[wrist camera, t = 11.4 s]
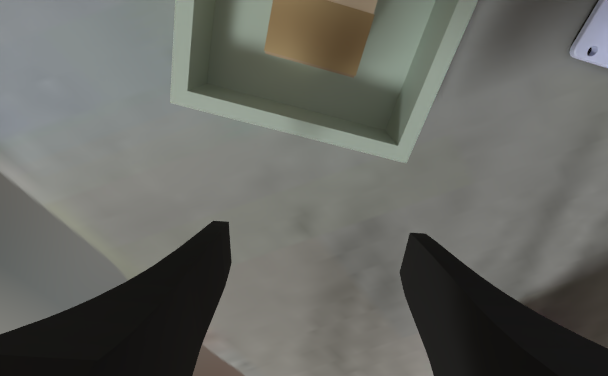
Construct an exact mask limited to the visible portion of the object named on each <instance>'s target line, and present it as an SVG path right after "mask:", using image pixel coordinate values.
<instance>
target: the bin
mask: <svg viewBox="0 0 608 376" xmlns="http://www.w3.org/2000/svg"><path fill="white" fill-rule="evenodd" d="M477 2H478V0H378V1H377V5H376V8H375V11H374V15H375V16H374V19H373V22H372V25H371V29H370V32H369V35H368V38H367V41H366V45H365V48H364V51H363V54H362V57H361V61H360V64H359V67H358V70H357V73H356V76H354V78H352V77H349V76H345V75H341V74H338V73H334V72H331V71H327V70H323V69H320V68H316V67H313V66H309V65H305V64H302V63H298V62H294V61H291V60H287V59H284V58H280V57H276V56H273V55H269V54H266V53H265V51H264V48H265V42H266V37H267V31H268V25H269V20H270V14H271V8H272V3H273V0H175V16H174V35H173V55H172V75H171V95H170V103H172V104H176V105H180V106H184V107H188V108H192V109H196V110H200V111H204V112H208V113H211V114H215V115H219V116H223V117H227V118H231V119H235V120H239V121H243V122H247V123H251V124H254V125H258V126H262V127H266V128H270V129H274V130H278V131H282V132H286V133H290V134H293V135H297V136H301V137H305V138H309V139H313V140H317V141H321V142H325V143H329V144H333V145H336V146H340V147H344V148H348V149H352V150H356V151H360V152H364V153H368V154H372V155H376V156H379V157H383V158H387V159H391V160H395V161H399V162H403V163H407V161H408V158H409V156H410V154H411V152H412V149H413V147H414V145H415V142H416V140H417V138H418V136H419V133H420V131H421V129H422V127H423V124H424V122H425V120H426V118H427V115H428V113H429V111H430V109H431V106H432V104H433V102H434V99H435V97H436V95H437V93H438V90H439V88H440V86H441V84H442V81H443V79H444V77H445V75H446V72H447V70H448V68H449V66H450V63H451V61H452V59H453V56H454V54H455V52H456V50H457V47H458V45H459V43H460V41H461V38H462V36H463V34H464V32H465V29H466V27H467V25H468V23H469V20H470V18H471V16H472V13H473V11H474V9H475V7H476V4H477Z"/></svg>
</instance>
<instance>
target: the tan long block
mask: <svg viewBox="0 0 608 376" xmlns="http://www.w3.org/2000/svg"><path fill="white" fill-rule="evenodd" d="M377 1H378V0H273V3H272V8H271V14H270V20H269V25H268V31H267V37H266V42H265V48H264V51H265V53H266V54H269V55H273V56H276V57H280V58H284V59H287V60H291V61H294V62H298V63H302V64H305V65H309V66H313V67H316V68H320V69H323V70H327V71H331V72H334V73H338V74H341V75H345V76H349V77H352V78H354V76H356V73H357V70H358V67H359V64H360V61H361V57H362V54H363V51H364V48H365V45H366V41H367V38H368V35H369V32H370V29H371V25H372V22H373V19H374V16H375V15H374V11H375V8H376V5H377Z"/></svg>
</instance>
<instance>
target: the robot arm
mask: <svg viewBox="0 0 608 376" xmlns="http://www.w3.org/2000/svg"><path fill="white" fill-rule="evenodd" d="M590 47H591V48H592V50H591V53H590V54H589V55H587V52H588V50H589V48H590ZM570 55H571V57H573V58H575V59H579V60H582V61H585V62H588V63H592V64H595V65H598V66H601V67H605V68H608V0H599V1H598V3H597V4H596V6H595V8H594V9H593V11H592V13H591V14H590V16H589V18H588V19H587V21H586V23H585V24H584V26H583V28H582V29H581V31H580V33H579V34H578V36H577V38H576V39H575V41H574V43H573V44H572V46H571V48H570ZM230 266H231V249H230V235H229V222H222V221H213V222H211V223H210V224H209V225H207V226H206V227H205V228H204V229H202V230H201V231H200V232H199V233H197V234H196V235H195V236H194V237H192V238H191V239H190V240H188V241H187V242H186V243H185V244H183V245H182V246H181V247H179V248H178V249H177V250H175V251H174V252H172V253H171V254H170V255H168V256H167V257H165V258H164V259H162V260H161V261H159V262H158V263H157V264H155V265H154V266H152V267H150V268H149V269H147V270H146V271H144V272H142V273H141V274H139V275H137V276H135V277H134V278H132V279H130V280H128V281H127V282H125V283H123V284H121V285H119V286H117V287H115V288H113V289H111V290H109V291H107V292H105V293H103V294H101V295H99V296H97V297H95V298H93V299H91V300H89V301H86V302H84V303H82V304H79V305H77V306H75V307H73V308H70V309H68V310H65V311H63V312H61V313H58V314H56V315H53V316H51V317H48V318H46V319H43V320H40V321H37V322H34V323H32V324H29V325H26V326H23V327H20V328H18V329H15V330H12V331H9V332H6V333H3V334H0V376H192V375H193V371H194V368H195V365H196V361H197V357H198V355H199V351H200V348H201V345H202V343H203V340H204V337H205V335H206V332H207V330H208V327H209V325H210V322H211V320H212V318H213V315H214V313H215V310H216V308H217V305H218V303H219V300H220V298H221V295H222V293H223V290H224V288H225V285H226V281H227V278H228V274H229V270H230ZM400 276H401V281H402V285H403V289H404V293H405V297H406V300H407V302H408V305H409V308H410V310H411V313H412V316H413V318H414V321H415V323H416V326H417V329H418V331H419V334H420V336H421V339H422V341H423V344H424V347H425V349H426V352H427V355H428V358H429V361H430V364H431V367H432V371H433V375H434V376H608V349H607V348H605V347H603V346H601V345H599V344H597V343H595V342H592V341H590V340H588V339H586V338H584V337H582V336H580V335H578V334H576V333H574V332H572V331H570V330H568V329H566V328H564V327H562V326H560V325H558V324H557V323H555V322H553V321H551V320H549V319H547V318H545V317H544V316H542V315H540V314H538V313H536V312H535V311H533V310H531V309H530V308H528V307H526V306H524V305H523V304H521V303H520V302H518V301H516V300H515V299H513V298H512V297H510V296H508V295H507V294H505V293H504V292H502V291H501V290H499V289H498V288H496V287H495V286H493V285H492V284H491V283H489V282H488V281H486V280H485V279H484V278H482V277H481V276H479V275H478V274H477V273H475V272H474V271H473V270H471V269H470V268H469V267H467V266H466V265H465V264H464V263H462V262H461V261H460V260H458V259H457V258H456V257H455V256H453V255H452V254H451V253H450V252H448V251H447V250H446V249H445V248H443V247H442V246H441V245H440V244H438V243H437V242H436V241H435V240H433V239H432V238H431V237H429V236H428V235H427V234H421V233H410V235H409V239H408V243H407V246H406V250H405V254H404V258H403V262H402V266H401V270H400Z"/></svg>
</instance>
